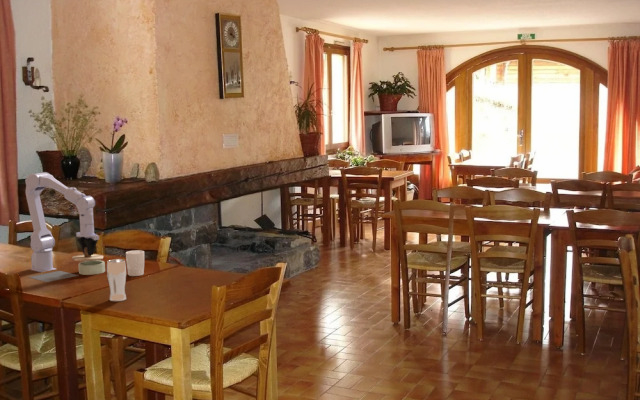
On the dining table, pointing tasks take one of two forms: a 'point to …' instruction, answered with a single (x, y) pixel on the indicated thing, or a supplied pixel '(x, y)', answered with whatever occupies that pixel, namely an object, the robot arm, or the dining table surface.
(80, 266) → the bowl
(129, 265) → the white cup
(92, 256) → the lid
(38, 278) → the mat
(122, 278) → the beer glass
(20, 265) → the dining table surface
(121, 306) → the dining table surface
